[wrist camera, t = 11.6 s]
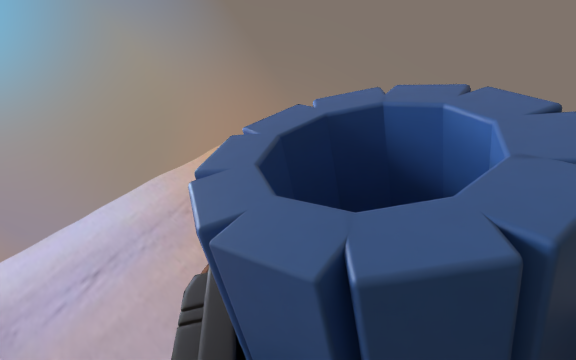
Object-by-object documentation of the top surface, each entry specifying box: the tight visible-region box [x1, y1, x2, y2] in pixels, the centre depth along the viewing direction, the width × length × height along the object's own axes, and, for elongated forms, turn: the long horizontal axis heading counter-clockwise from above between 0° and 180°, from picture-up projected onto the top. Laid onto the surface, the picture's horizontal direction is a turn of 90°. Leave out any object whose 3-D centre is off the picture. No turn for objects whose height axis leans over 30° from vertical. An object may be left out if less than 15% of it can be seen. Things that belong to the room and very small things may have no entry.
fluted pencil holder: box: [188, 84, 576, 360], centre depth 8 cm, size 6×6×10 cm
